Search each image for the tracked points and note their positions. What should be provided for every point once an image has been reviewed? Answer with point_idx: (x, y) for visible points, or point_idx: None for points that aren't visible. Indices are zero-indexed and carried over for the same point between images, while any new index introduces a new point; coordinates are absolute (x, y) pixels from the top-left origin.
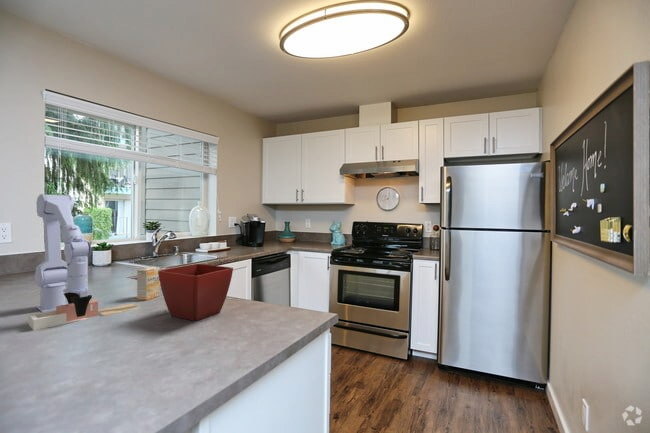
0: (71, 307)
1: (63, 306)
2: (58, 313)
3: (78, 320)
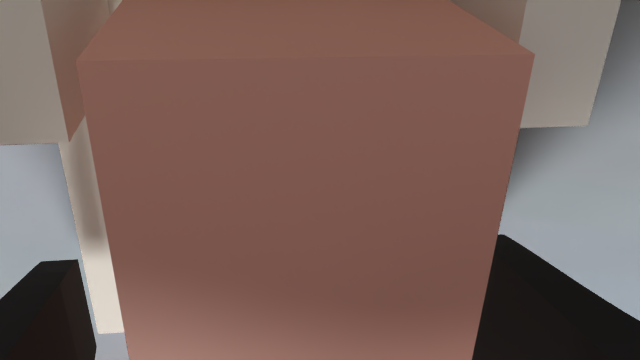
0: (128, 330)
1: (285, 207)
2: (205, 10)
3: (104, 231)
